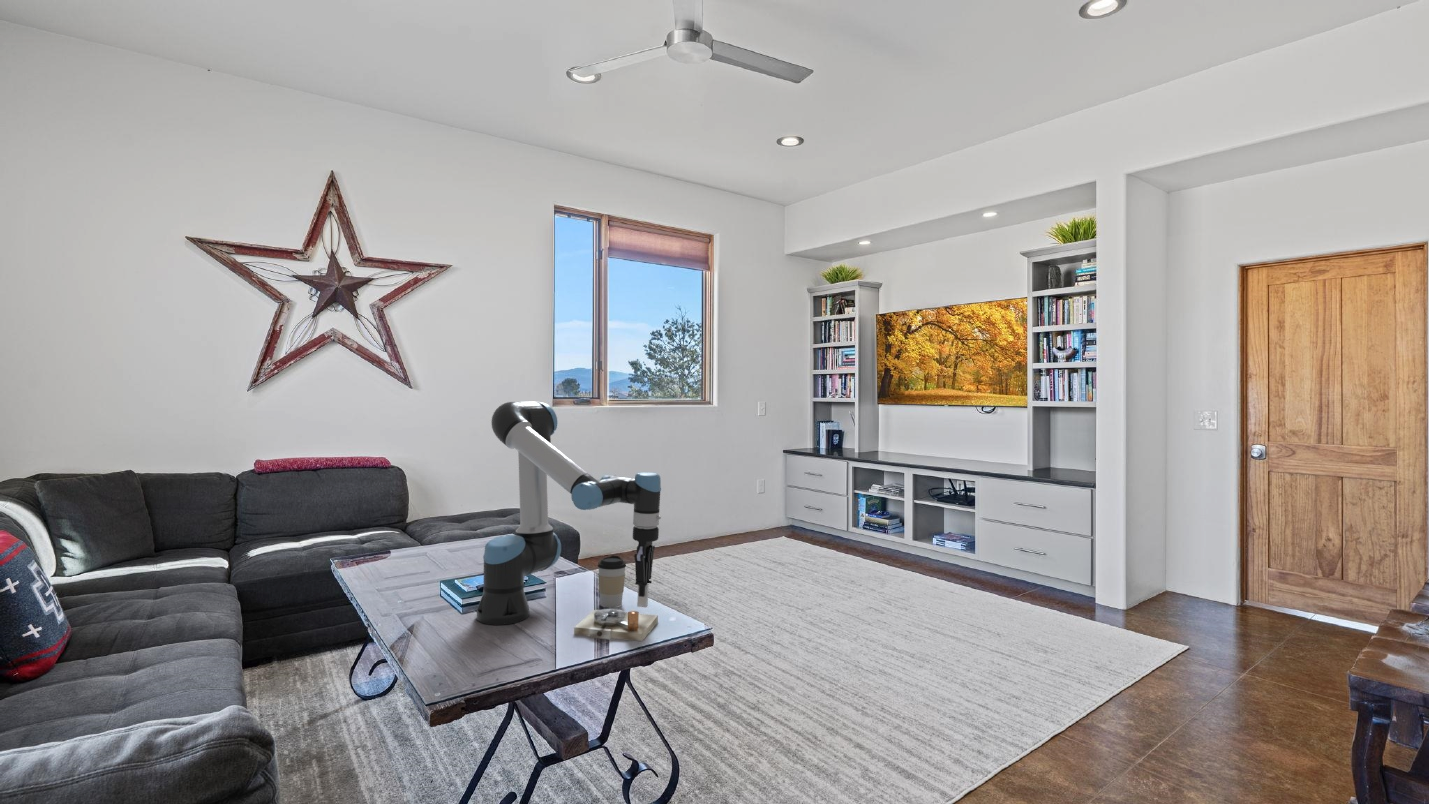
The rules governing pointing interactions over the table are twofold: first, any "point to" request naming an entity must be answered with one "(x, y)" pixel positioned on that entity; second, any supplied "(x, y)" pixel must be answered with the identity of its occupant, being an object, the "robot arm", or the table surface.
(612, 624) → the cam capstan
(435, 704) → the table surface
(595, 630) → the stand
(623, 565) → the coffee cup
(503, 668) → the table surface
